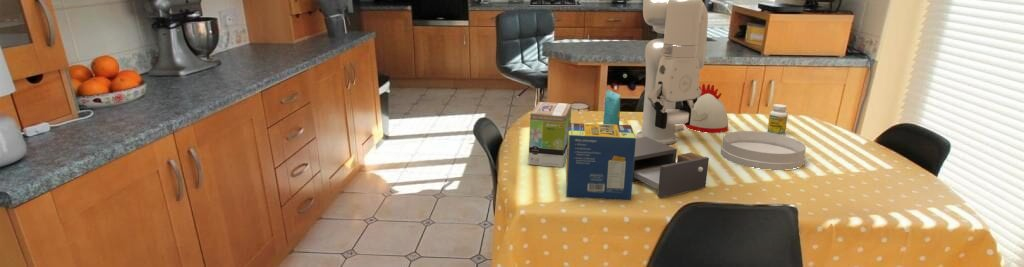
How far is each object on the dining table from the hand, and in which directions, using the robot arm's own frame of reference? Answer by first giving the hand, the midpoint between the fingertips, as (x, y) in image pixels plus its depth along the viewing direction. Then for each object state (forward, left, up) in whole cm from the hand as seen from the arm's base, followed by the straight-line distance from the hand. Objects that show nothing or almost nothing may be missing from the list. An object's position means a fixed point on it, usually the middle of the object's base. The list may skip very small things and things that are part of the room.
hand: (672, 125), depth 133 cm
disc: (0, 0, +1) cm, 1 cm away
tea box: (+15, -31, -16) cm, 38 cm away
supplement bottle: (-65, -18, -16) cm, 69 cm away
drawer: (0, 0, -15) cm, 15 cm away
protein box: (+17, -5, -16) cm, 24 cm away
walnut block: (-11, -3, -16) cm, 19 cm away
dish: (-40, -4, -16) cm, 43 cm away
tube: (0, -23, -16) cm, 28 cm away
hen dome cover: (-50, -34, -16) cm, 63 cm away
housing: (0, -11, -16) cm, 19 cm away
